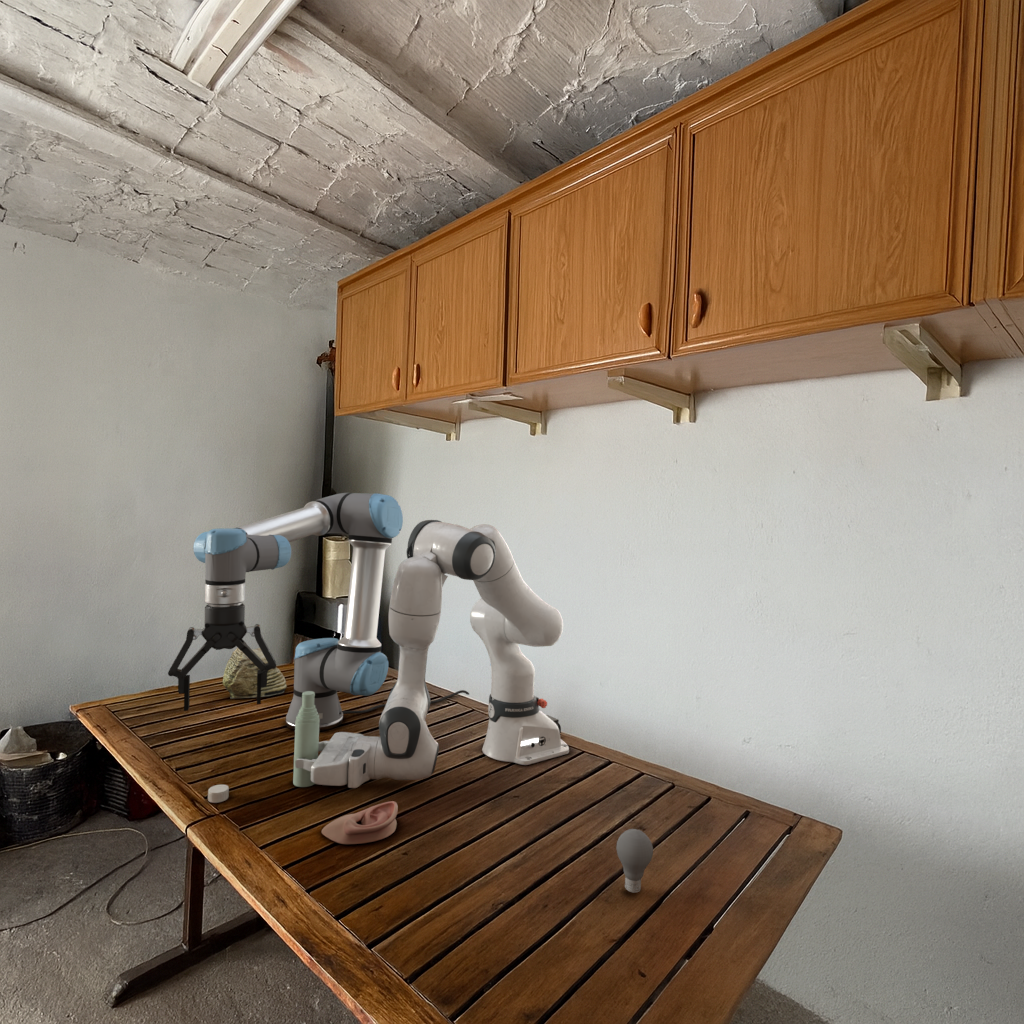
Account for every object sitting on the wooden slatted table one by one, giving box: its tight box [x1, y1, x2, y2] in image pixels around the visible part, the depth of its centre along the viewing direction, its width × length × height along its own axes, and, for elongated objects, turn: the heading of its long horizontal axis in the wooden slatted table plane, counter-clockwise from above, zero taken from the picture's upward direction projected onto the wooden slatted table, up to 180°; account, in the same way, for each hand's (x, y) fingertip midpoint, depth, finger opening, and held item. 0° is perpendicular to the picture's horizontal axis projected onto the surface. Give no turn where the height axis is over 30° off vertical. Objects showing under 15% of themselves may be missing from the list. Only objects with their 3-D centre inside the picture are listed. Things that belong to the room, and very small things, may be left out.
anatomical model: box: [321, 800, 399, 845], centre depth 121 cm, size 13×4×12 cm
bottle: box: [292, 691, 320, 788], centre depth 140 cm, size 5×5×20 cm
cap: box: [207, 784, 230, 804], centre depth 131 cm, size 4×4×2 cm
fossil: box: [222, 647, 288, 699], centre depth 198 cm, size 9×18×15 cm, turn 132°
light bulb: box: [615, 828, 654, 894], centre depth 106 cm, size 6×6×10 cm
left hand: (223, 705), depth 131 cm, fingers open, 13 cm apart
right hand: (302, 754), depth 140 cm, fingers open, 7 cm apart
